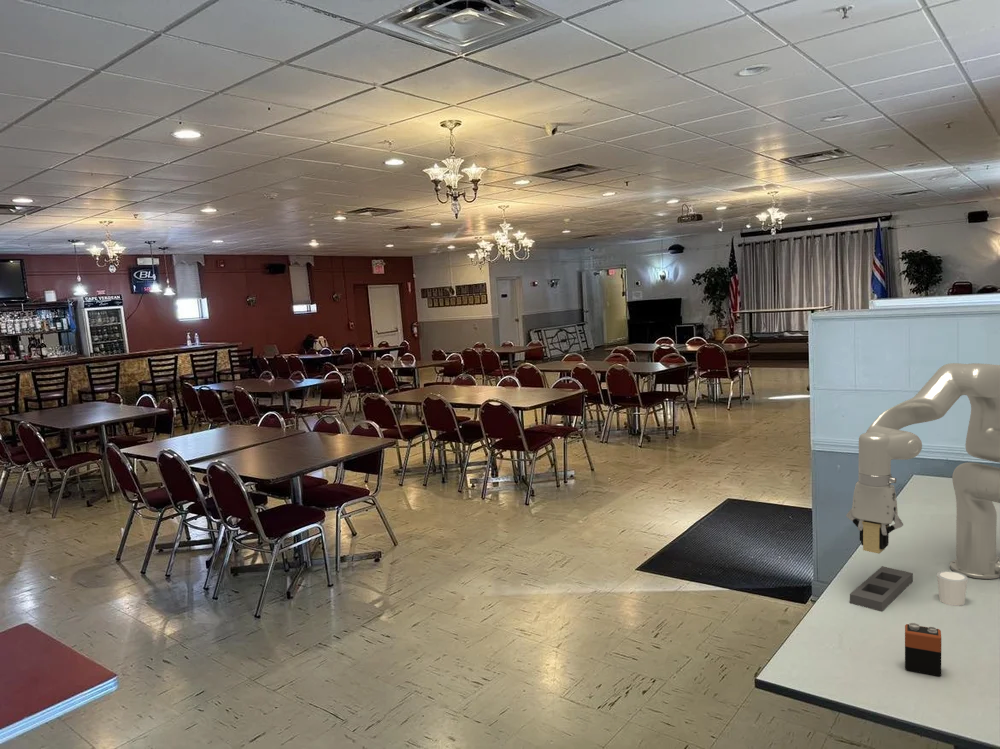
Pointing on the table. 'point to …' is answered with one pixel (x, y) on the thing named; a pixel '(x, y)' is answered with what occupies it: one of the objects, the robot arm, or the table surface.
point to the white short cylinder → (952, 587)
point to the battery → (922, 649)
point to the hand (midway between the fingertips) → (873, 545)
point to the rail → (881, 588)
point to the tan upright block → (871, 536)
